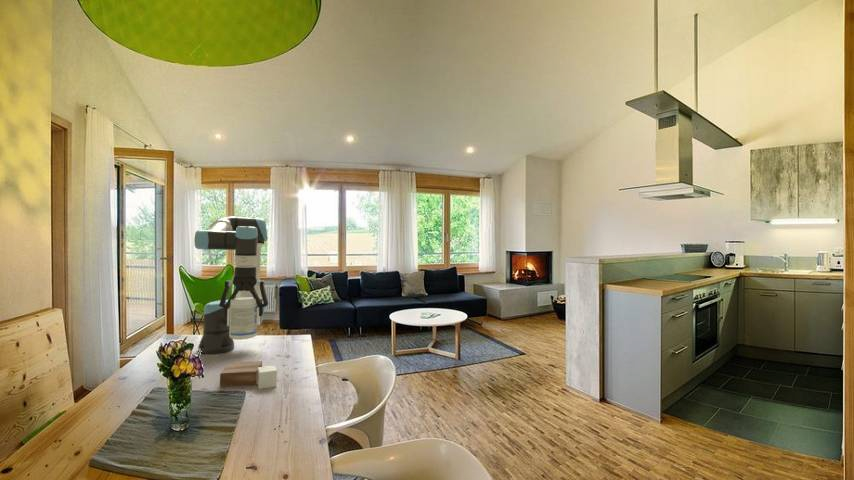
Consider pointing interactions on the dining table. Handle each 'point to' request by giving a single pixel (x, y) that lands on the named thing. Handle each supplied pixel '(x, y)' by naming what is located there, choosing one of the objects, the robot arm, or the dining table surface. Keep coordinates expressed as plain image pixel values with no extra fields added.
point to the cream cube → (267, 376)
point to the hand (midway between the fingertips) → (243, 324)
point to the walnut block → (240, 374)
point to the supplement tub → (243, 318)
